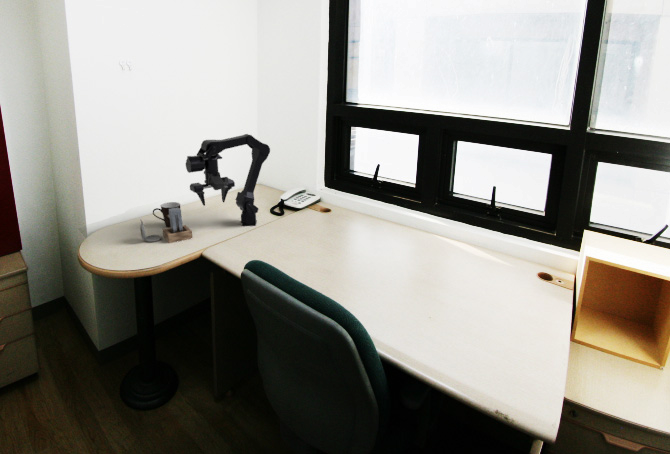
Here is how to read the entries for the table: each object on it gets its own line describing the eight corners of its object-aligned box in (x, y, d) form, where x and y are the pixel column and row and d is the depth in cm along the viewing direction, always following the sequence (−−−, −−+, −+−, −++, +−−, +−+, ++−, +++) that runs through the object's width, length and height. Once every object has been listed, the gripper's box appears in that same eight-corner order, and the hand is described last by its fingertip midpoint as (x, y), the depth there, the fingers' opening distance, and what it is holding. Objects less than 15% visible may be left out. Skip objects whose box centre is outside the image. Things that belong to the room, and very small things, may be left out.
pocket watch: (164, 238, 194) (161, 216, 191) (149, 245, 187) (146, 222, 184) (150, 235, 198) (147, 213, 194) (135, 241, 190) (132, 219, 187)
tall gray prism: (180, 233, 198) (178, 207, 194) (183, 235, 195) (180, 209, 191) (171, 234, 196) (168, 208, 192) (174, 237, 193) (171, 211, 189)
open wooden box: (185, 232, 202) (185, 224, 201) (192, 238, 195) (191, 231, 194) (163, 236, 197) (162, 229, 195) (169, 243, 190) (168, 235, 189)
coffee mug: (185, 222, 214) (183, 202, 210) (177, 228, 206) (175, 208, 202) (162, 221, 215) (159, 201, 211) (153, 227, 207) (150, 206, 203)
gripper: (198, 176, 183) (201, 212, 189) (239, 170, 194) (241, 204, 200) (187, 170, 191) (191, 205, 197) (228, 165, 202) (230, 198, 208)
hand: (213, 203), depth 200 cm, fingers open, 9 cm apart
